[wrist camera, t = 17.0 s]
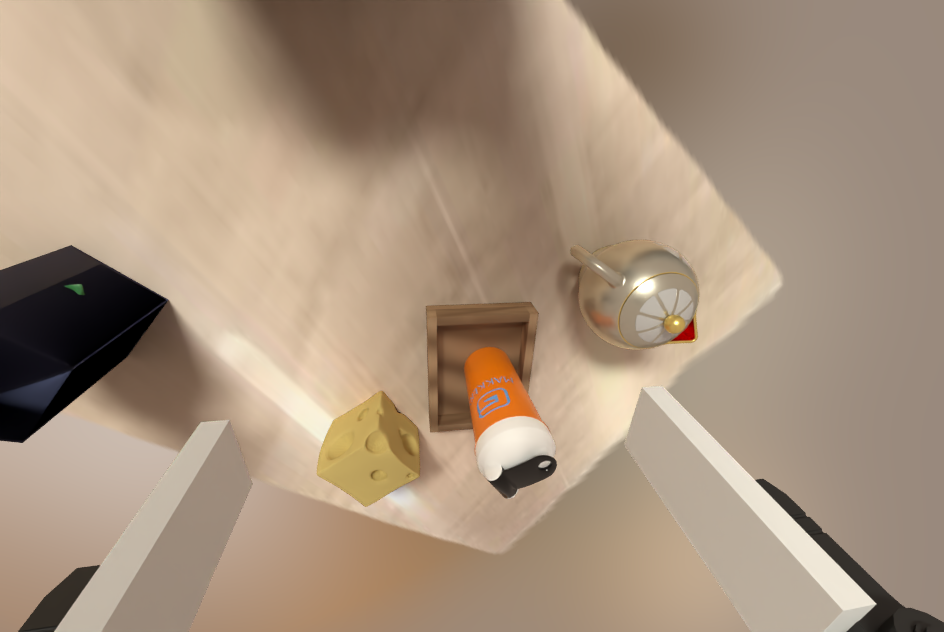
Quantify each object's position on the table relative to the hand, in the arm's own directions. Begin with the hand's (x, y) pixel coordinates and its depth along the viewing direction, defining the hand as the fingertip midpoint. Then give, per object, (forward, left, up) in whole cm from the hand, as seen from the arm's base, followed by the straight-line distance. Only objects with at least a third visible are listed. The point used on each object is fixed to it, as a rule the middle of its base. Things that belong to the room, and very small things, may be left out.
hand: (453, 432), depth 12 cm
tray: (+23, +8, -37) cm, 44 cm away
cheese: (+34, -8, -37) cm, 51 cm away
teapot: (+8, +25, -37) cm, 45 cm away
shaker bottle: (+23, +9, -36) cm, 43 cm away
